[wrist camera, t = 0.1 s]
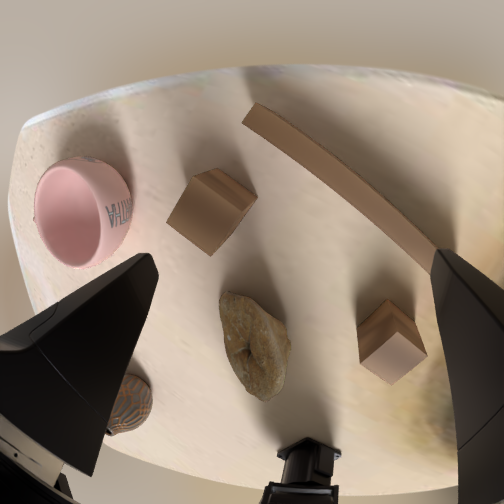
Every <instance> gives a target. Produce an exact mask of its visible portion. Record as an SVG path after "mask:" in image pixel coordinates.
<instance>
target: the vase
mask: <svg viewBox="0 0 504 504" xmlns="http://www.w3.org/2000/svg"><path fill="white" fill-rule="evenodd" d="M152 403H153V398H152V394H151V391H150V389H149V387H148V385H147V384H146V383H145V382H144V381H143V380H142V379H140V378H139V377H137V376H134V375H130V374H125V376H124V378H123V381H122V384H121V387H120V390H119V393H118V395H117V398H116V401H115V404H114V407H113V410H112V413H111V416H110V419H109V422H108V426H107V429H106V432H105V434H106V435H108V436H114V435H116V434H118V433H122V432H127V431H131V430H134V429H136V428H138V427H139V426H140V425H142V424H143V423H144V422H145V420H146V419H147V418H148V416H149V414H150V412H151V409H152Z"/></svg>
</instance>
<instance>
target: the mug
mask: <svg viewBox="0 0 504 504" xmlns="http://www.w3.org/2000/svg"><path fill="white" fill-rule="evenodd" d="M34 214H35V216H34V218H33V221H34V222H35V223H36V225H37V228H38V232H39V234H40V236H41V239H42V241H43V242H44V244H45V246H46V248H47V249H48V250H49V251H50V253H51V254H52V255H53V256H54V257H55V258H56V259H57V260H58V261H60V262H61V263H63V264H64V265H66V266H68V267H71V268H75V269H86V268H90V267H93V266H96V265H98V264H100V263H101V262H103V261H104V260H106V259H107V258H109V257H110V256H112V255H113V254H114V252H115V251H116V250H117V249H118V248H119V247H120V246H121V244H122V242H123V240H124V238H125V236H126V234H127V232H128V230H129V227H130V224H131V220H132V200H131V196H130V192H129V189H128V187H127V185H126V183H125V181H124V179H123V178H122V176H121V175H120V174H119V173H118V172H117V171H116V170H115V169H114V168H113V167H111V166H110V165H108V164H107V163H105V162H103V161H101V160H98V159H95V158H92V157H84V156H77V157H71V158H68V159H64V160H61V161H58V162H56V163H55V164H53V165H52V166H50V167H49V168H48V169H47V170H46V171H45V173H44V174H43V175H42V177H41V178H40V180H39V182H38V185H37V188H36V192H35V199H34Z"/></svg>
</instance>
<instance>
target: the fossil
mask: <svg viewBox="0 0 504 504" xmlns="http://www.w3.org/2000/svg"><path fill="white" fill-rule="evenodd" d="M219 304H220V305H219V310H220V318H221V321H222V326H223V331H224V343H225V348H226V353H227V357H228V359H229V362H230V364H231V366H232V368H233V370H234V372H235V374H236V375H237V377H238V379H239V380H240V382H241V383H242V384H243V385H244V386H245V388H246V391H247V392H249V393H250V394H252V395H254V396H256V397H257V398H258V399H259V400H261V401H264V402H267V401H269V400H270V399H271V398H272V397H274V396H275V395H276V394H278V393H279V392H280V390H281V388H282V387H283V385H284V380H285V374H286V367H287V359H288V357H289V354H290V350H291V343H290V340H289V339H288V337H287V330H286V327H285V326H284V324H283V323H282V322H281V321H279V320H278V319H276V318H274V317H272V316H271V315H270V314H268V313H266V312H265V311H264V310H263V309H262V308H261V307H260V306H259V305H258V304H257V303H256V302H255V301H254V300H252V299H251V298H250V297H246V296H241V295H237V294H234V293H231V292H230V291H228V292H225V293H224V294H223V295H222V296H221V298H220V300H219Z"/></svg>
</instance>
